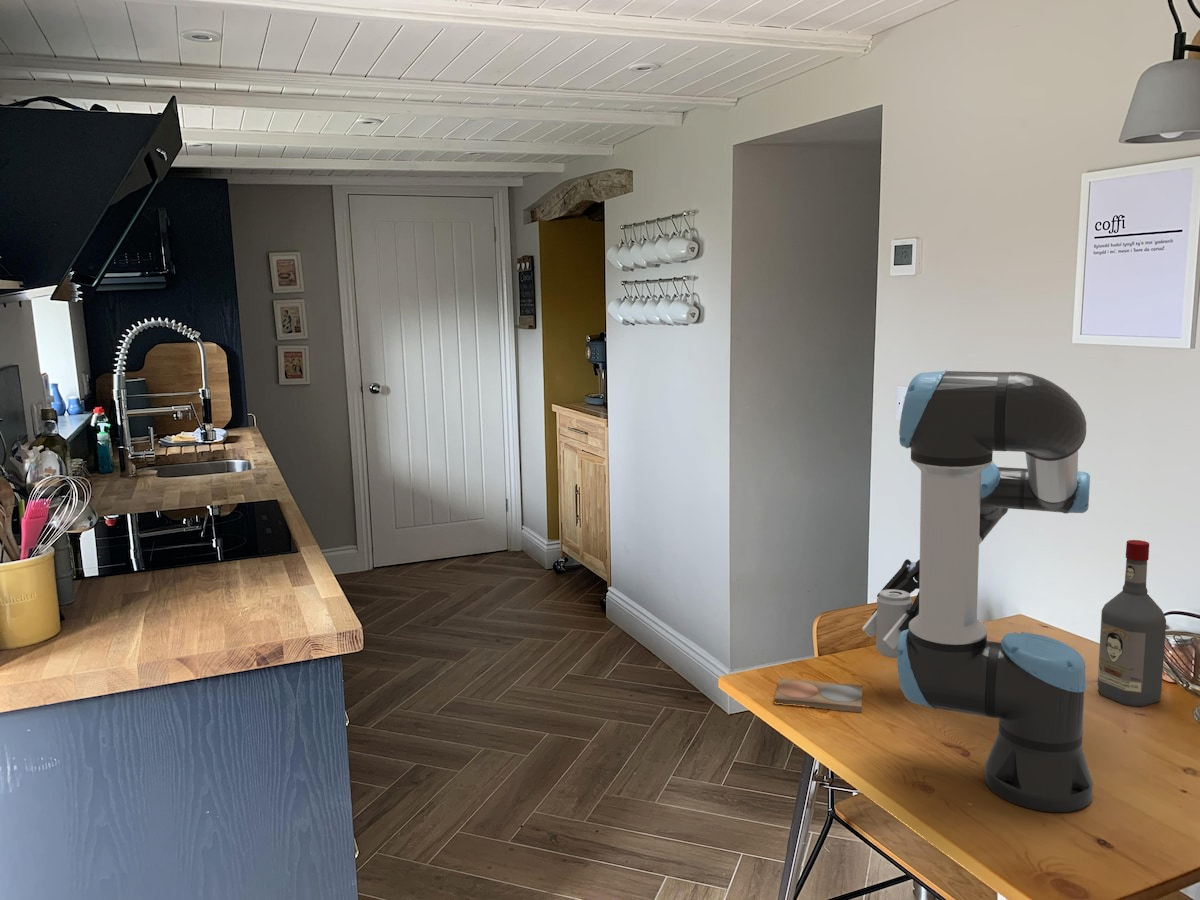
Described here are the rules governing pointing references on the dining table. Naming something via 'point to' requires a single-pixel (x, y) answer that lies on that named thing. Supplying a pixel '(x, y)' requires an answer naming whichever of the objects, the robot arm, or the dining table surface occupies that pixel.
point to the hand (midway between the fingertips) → (877, 638)
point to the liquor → (1132, 637)
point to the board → (820, 694)
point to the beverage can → (890, 617)
